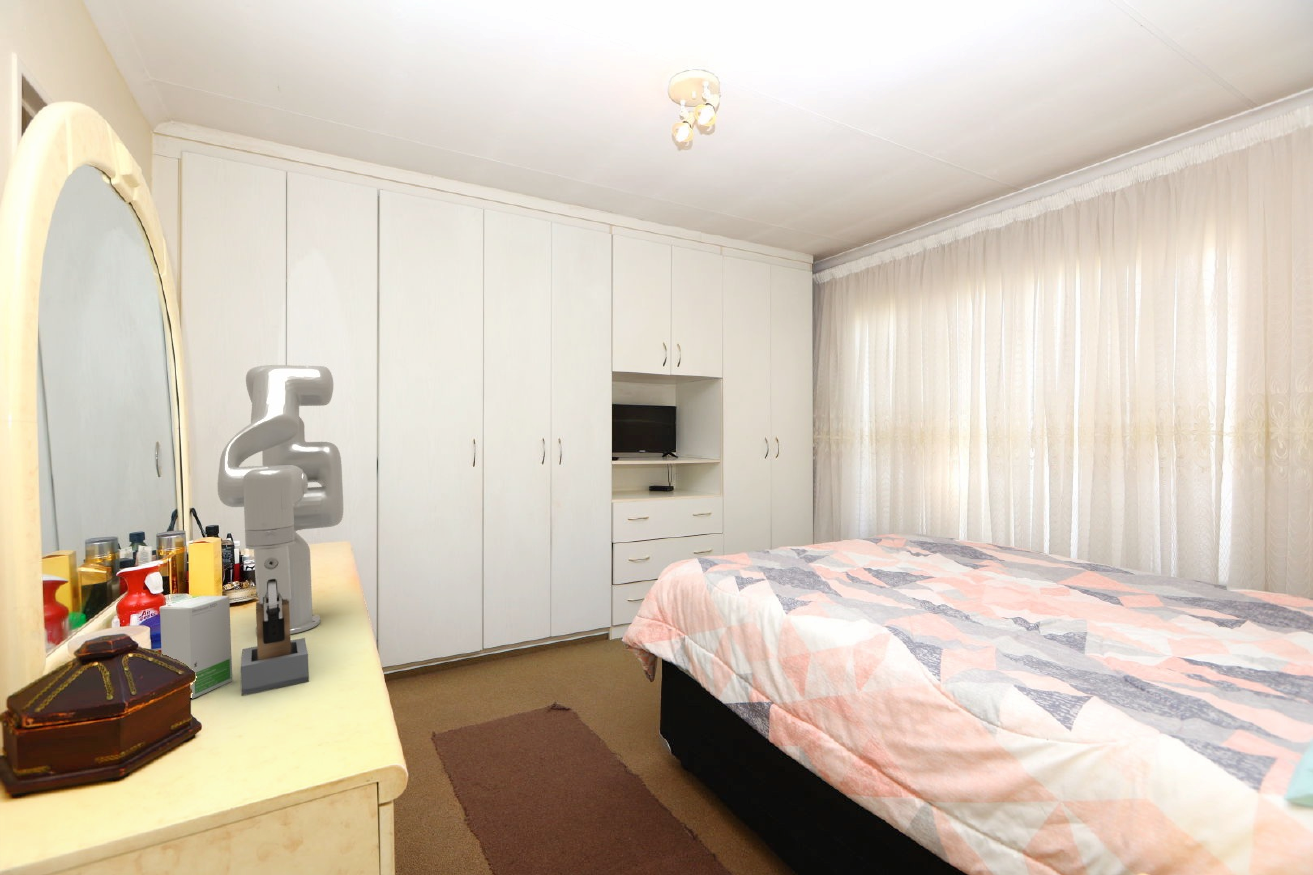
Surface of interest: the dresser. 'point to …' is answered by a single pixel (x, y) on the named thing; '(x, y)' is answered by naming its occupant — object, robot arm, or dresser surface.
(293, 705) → the dresser surface
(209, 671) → the skincare box
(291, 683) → the grey well
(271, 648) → the oak block
